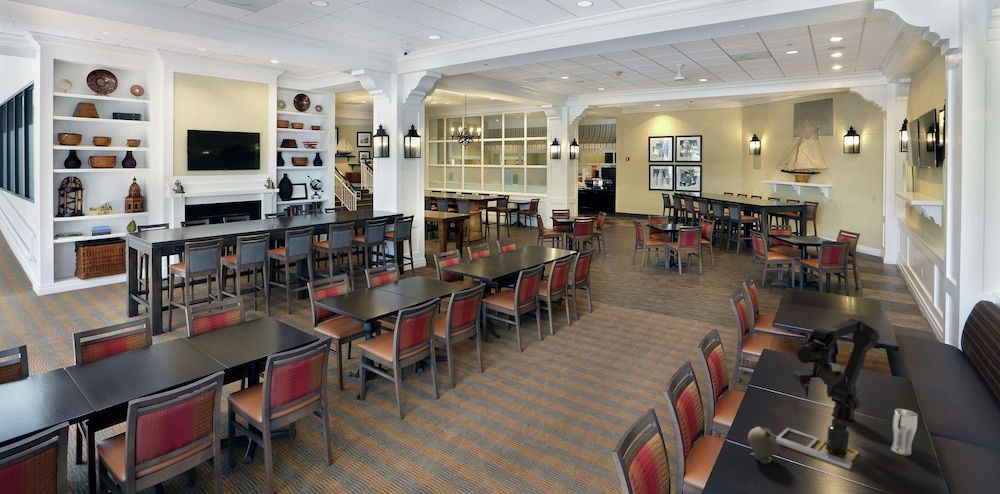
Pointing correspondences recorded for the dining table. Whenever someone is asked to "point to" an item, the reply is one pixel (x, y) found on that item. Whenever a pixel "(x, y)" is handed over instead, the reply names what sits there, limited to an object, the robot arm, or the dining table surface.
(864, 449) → the dining table surface
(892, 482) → the dining table surface
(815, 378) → the robot arm
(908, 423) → the beer glass
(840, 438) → the supplement bottle
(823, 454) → the tray
